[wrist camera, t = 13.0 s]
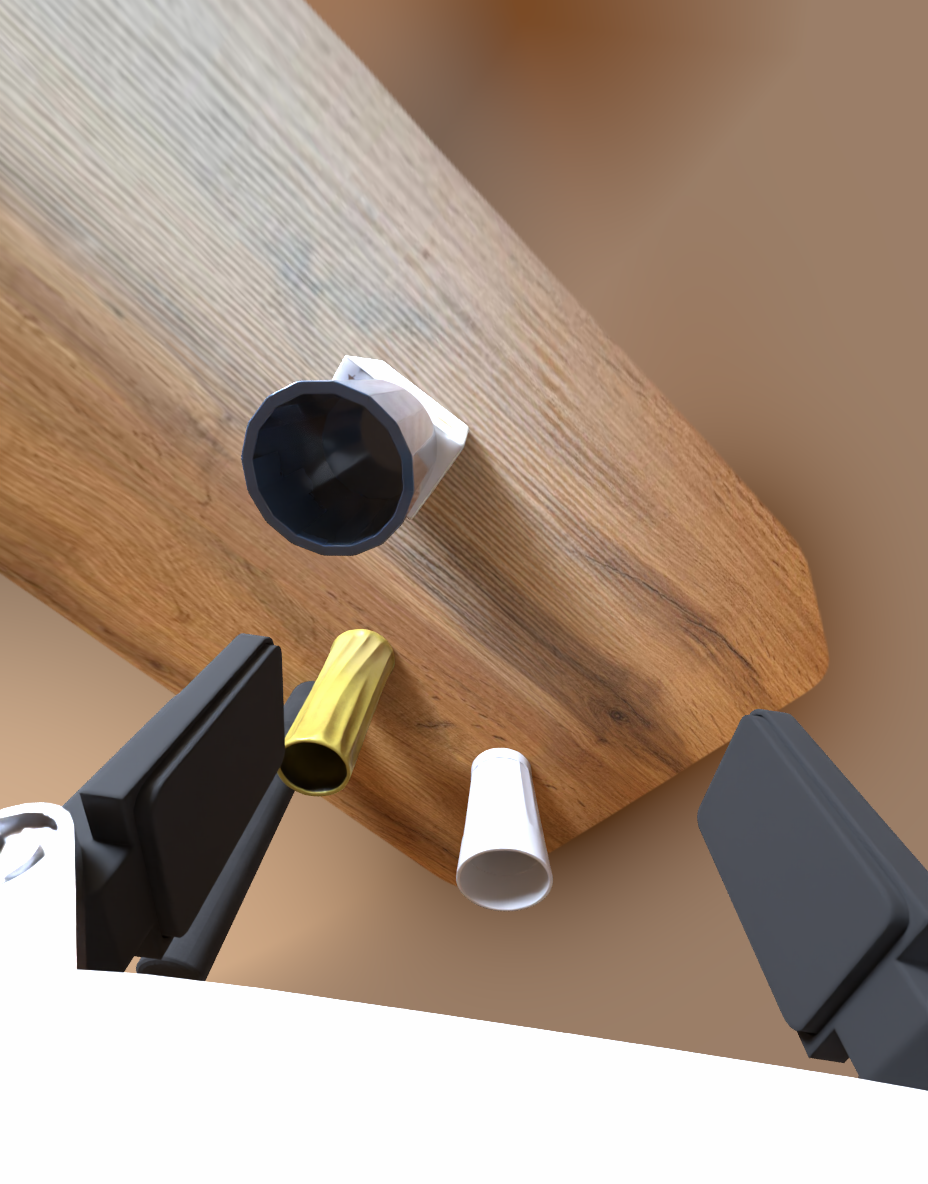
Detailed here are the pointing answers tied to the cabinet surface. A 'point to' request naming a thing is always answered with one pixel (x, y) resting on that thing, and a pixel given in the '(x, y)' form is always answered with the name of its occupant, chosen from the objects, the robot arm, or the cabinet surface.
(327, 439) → the tumbler
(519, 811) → the cup
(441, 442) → the small box
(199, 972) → the flashlight
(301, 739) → the vase
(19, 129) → the cabinet surface
